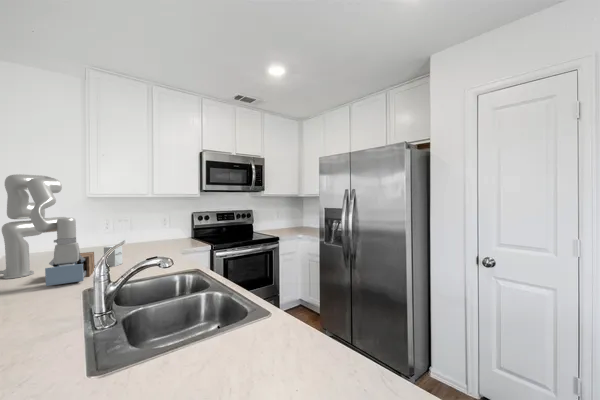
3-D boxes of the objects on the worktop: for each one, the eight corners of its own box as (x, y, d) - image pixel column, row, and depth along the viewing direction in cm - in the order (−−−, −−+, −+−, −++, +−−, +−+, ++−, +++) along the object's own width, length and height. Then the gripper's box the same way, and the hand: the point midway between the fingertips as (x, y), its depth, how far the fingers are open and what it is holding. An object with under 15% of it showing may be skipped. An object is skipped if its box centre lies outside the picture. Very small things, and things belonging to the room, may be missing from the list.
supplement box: (115, 266, 171) (114, 247, 171) (103, 266, 171) (103, 247, 171) (123, 263, 178) (122, 244, 178) (112, 263, 179) (111, 245, 178)
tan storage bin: (62, 274, 156) (62, 254, 155) (94, 270, 163) (93, 251, 163) (54, 281, 143) (53, 259, 143) (89, 276, 150) (88, 256, 150)
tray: (55, 278, 144) (54, 262, 144) (89, 273, 151) (88, 258, 151) (45, 285, 132) (45, 268, 132) (83, 280, 139) (82, 264, 138)
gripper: (42, 244, 133) (44, 280, 133) (85, 240, 141) (86, 274, 141) (48, 241, 140) (49, 276, 140) (88, 238, 148) (90, 271, 148)
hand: (68, 275), depth 141 cm, fingers closed on shot glass, 5 cm apart
